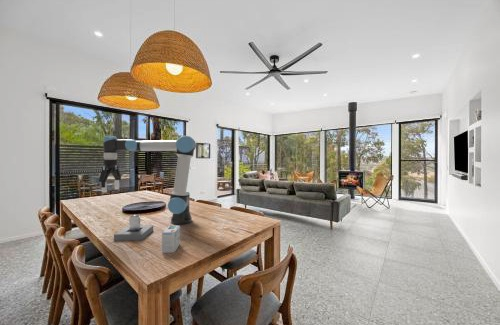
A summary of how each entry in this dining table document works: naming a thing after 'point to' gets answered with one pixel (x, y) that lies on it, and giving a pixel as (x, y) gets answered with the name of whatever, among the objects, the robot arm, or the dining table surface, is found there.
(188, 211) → the robot arm
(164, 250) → the light bulb box
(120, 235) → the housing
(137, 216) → the end cap
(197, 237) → the dining table surface
